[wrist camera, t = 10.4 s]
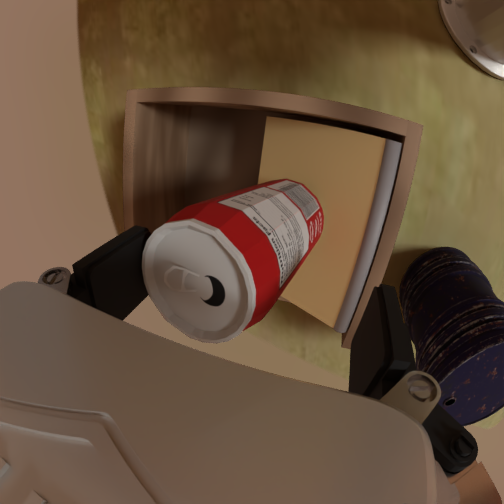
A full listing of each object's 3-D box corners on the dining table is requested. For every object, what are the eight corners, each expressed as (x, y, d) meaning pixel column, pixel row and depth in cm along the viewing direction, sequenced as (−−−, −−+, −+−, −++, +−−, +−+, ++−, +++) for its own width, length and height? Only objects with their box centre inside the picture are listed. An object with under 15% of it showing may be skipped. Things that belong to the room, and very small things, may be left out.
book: (404, 144, 15) (399, 142, 14) (349, 328, 21) (342, 334, 20) (276, 117, 21) (265, 116, 20) (254, 270, 27) (245, 274, 27)
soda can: (243, 236, 22) (130, 311, 12) (261, 168, 20) (136, 193, 10) (310, 264, 21) (237, 375, 10) (335, 194, 18) (281, 253, 8)
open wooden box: (391, 126, 22) (423, 125, 13) (350, 288, 29) (353, 349, 21) (186, 96, 25) (127, 90, 17) (177, 247, 33) (129, 287, 25)
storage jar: (474, 236, 23) (549, 319, 10) (474, 311, 26) (518, 405, 13) (391, 259, 27) (426, 366, 14) (402, 331, 30) (419, 439, 16)
